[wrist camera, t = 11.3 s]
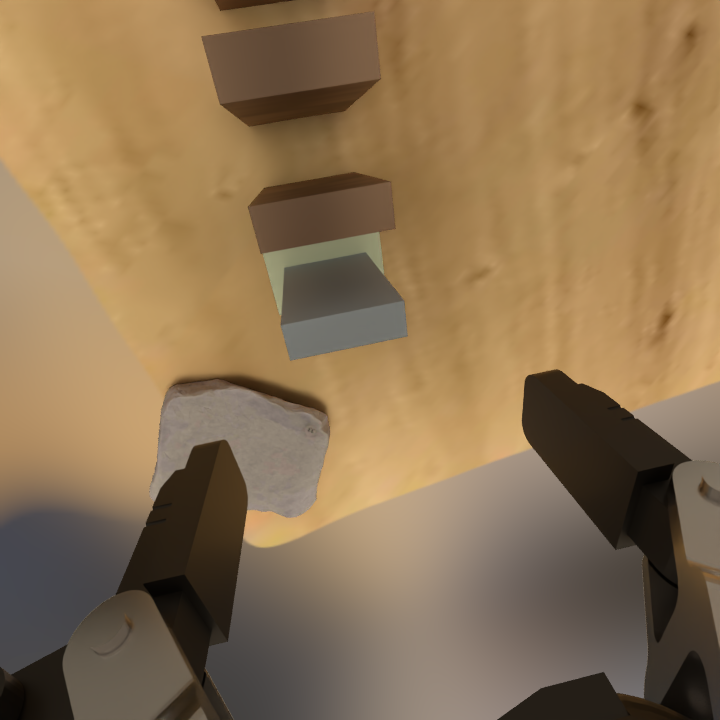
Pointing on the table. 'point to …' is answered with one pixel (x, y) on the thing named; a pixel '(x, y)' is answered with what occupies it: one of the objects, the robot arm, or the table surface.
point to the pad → (319, 257)
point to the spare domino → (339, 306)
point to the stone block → (246, 441)
